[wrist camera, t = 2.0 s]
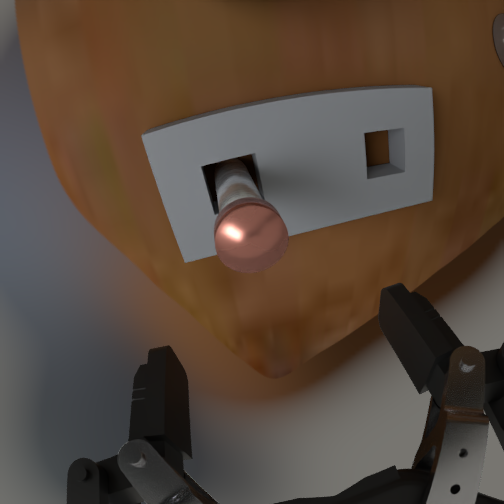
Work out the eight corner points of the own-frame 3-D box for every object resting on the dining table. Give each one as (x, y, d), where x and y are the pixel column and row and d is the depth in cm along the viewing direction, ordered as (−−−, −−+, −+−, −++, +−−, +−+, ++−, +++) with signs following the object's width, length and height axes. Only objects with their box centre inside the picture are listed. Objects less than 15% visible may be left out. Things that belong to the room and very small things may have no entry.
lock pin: (248, 147, 26) (282, 199, 16) (256, 188, 28) (292, 262, 18) (203, 159, 26) (206, 219, 15) (214, 199, 28) (225, 280, 18)
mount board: (413, 84, 24) (431, 87, 22) (416, 189, 31) (432, 200, 28) (147, 129, 24) (141, 135, 21) (185, 246, 30) (185, 262, 28)
